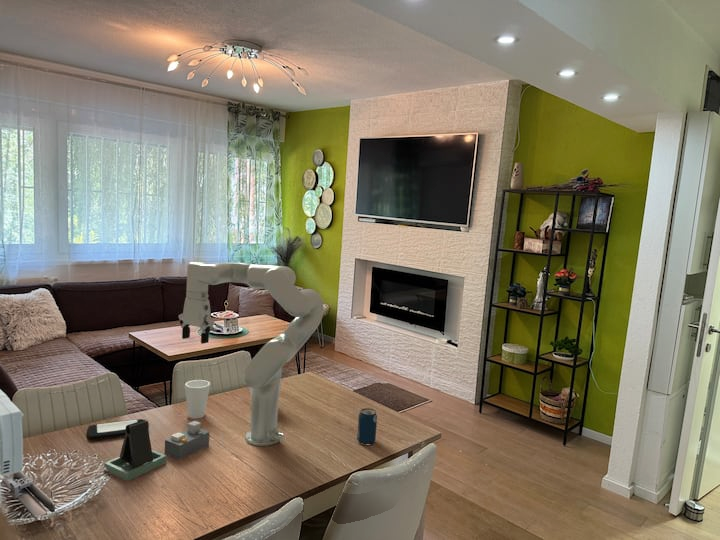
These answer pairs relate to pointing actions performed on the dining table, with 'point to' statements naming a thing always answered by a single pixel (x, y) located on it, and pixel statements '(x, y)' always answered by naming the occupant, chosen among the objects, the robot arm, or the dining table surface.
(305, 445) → the dining table surface
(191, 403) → the foam cup
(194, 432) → the block
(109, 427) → the light switch
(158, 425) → the dining table surface
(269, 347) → the robot arm
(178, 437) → the block
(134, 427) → the phone stand
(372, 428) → the soda can
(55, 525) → the dining table surface
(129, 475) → the tray
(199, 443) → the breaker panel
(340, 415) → the dining table surface
